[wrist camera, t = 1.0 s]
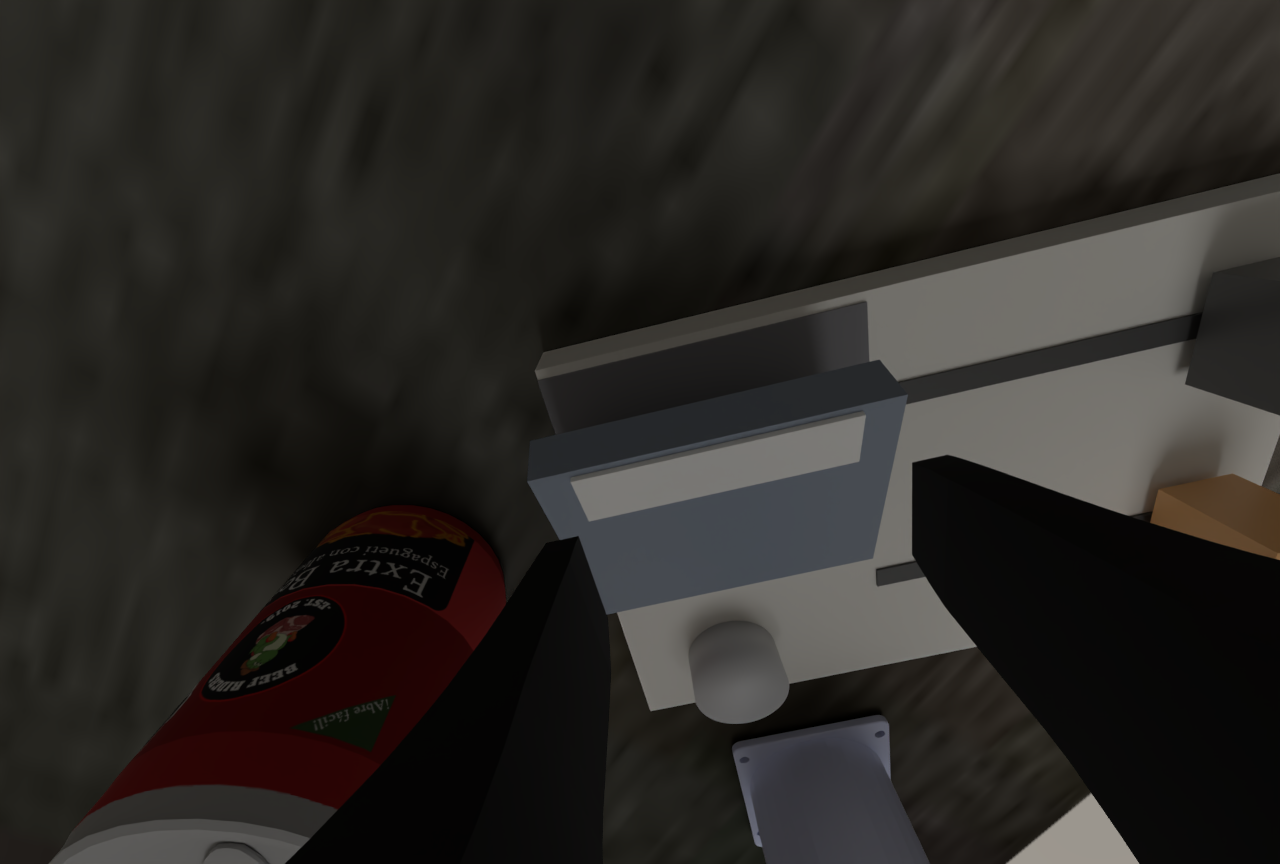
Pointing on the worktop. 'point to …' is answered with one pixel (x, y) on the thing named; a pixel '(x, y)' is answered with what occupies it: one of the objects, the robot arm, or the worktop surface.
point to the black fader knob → (1241, 337)
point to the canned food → (304, 697)
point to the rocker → (726, 486)
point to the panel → (944, 417)
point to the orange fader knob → (1223, 513)
